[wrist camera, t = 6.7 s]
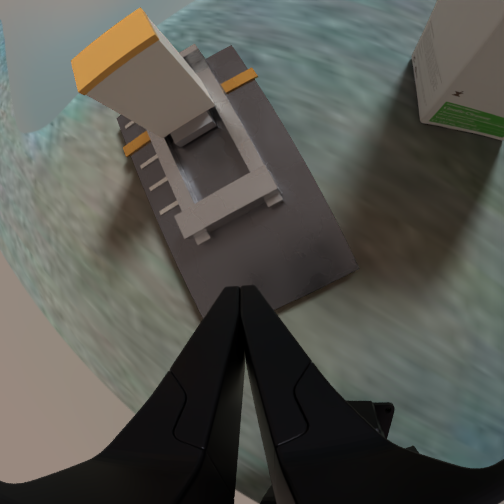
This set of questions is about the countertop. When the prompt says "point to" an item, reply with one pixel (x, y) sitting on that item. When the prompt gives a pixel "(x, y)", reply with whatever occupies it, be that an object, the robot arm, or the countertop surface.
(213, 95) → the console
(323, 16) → the countertop surface
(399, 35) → the countertop surface
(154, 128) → the fader
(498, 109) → the skincare box
